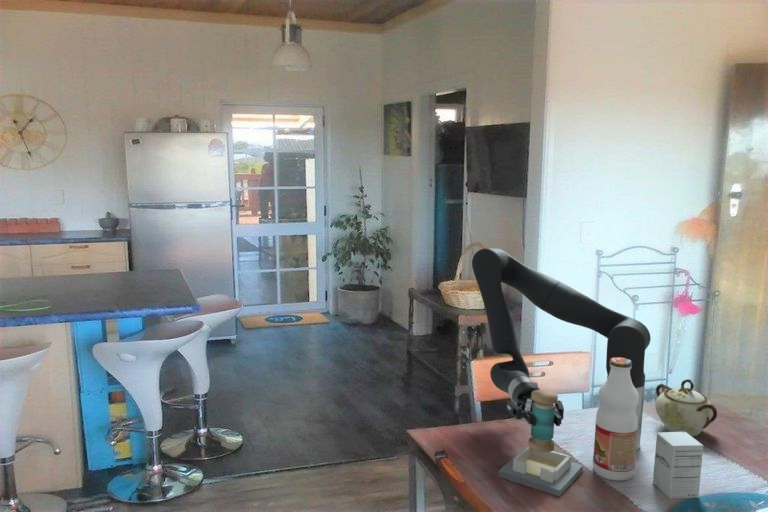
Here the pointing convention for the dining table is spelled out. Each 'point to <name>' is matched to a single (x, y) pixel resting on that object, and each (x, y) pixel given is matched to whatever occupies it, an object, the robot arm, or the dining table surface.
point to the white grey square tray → (542, 470)
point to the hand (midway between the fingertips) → (546, 422)
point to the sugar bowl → (684, 409)
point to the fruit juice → (616, 424)
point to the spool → (543, 420)
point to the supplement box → (677, 464)
